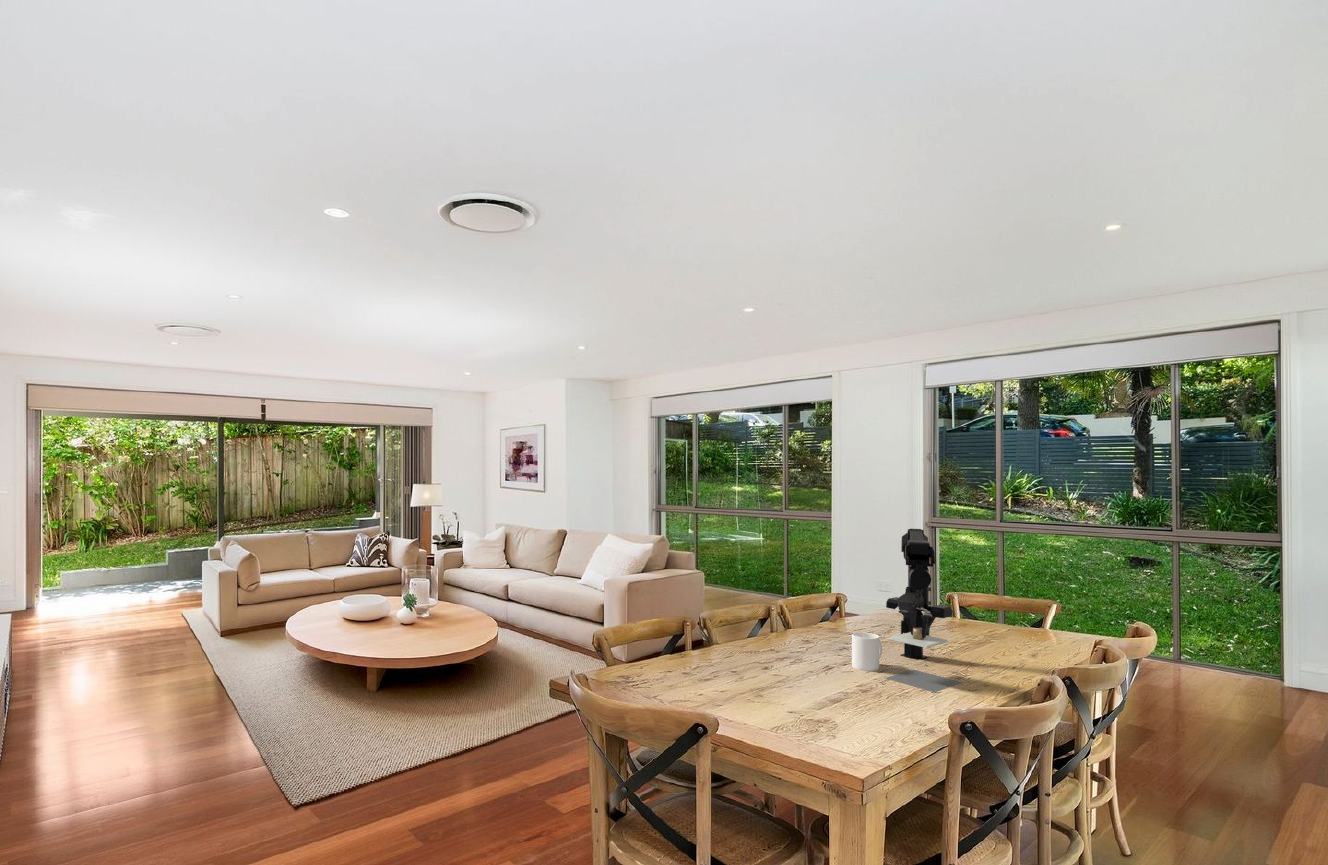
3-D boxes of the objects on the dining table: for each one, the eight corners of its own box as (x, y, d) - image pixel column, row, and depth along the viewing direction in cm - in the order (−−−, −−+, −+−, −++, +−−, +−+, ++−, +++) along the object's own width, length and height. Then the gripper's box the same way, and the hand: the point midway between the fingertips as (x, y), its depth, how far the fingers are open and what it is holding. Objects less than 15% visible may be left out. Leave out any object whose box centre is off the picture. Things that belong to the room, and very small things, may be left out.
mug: (871, 662, 223) (871, 630, 224) (892, 668, 216) (892, 635, 217) (846, 667, 216) (846, 634, 217) (867, 673, 209) (867, 639, 210)
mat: (913, 670, 214) (913, 669, 214) (963, 683, 202) (963, 682, 202) (884, 679, 204) (884, 678, 204) (934, 693, 192) (934, 692, 192)
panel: (911, 633, 213) (911, 622, 213) (947, 641, 204) (947, 629, 204) (889, 639, 206) (889, 627, 206) (926, 647, 196) (926, 635, 197)
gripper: (876, 581, 208) (875, 633, 207) (933, 591, 193) (933, 647, 193) (896, 578, 215) (896, 629, 214) (953, 587, 201) (953, 641, 200)
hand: (918, 636), depth 205 cm, fingers closed on panel, 3 cm apart
